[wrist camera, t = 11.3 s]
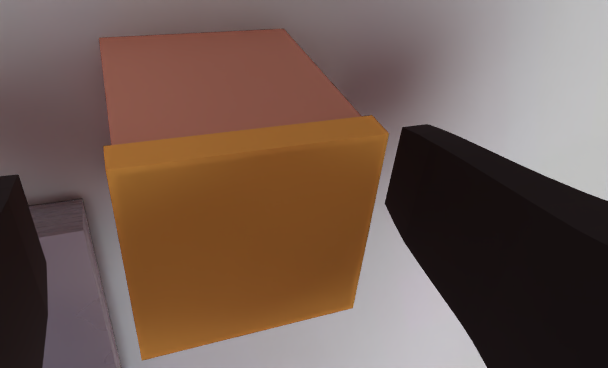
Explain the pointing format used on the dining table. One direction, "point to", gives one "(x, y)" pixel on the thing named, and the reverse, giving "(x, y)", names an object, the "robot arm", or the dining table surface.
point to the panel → (73, 291)
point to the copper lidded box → (234, 184)
